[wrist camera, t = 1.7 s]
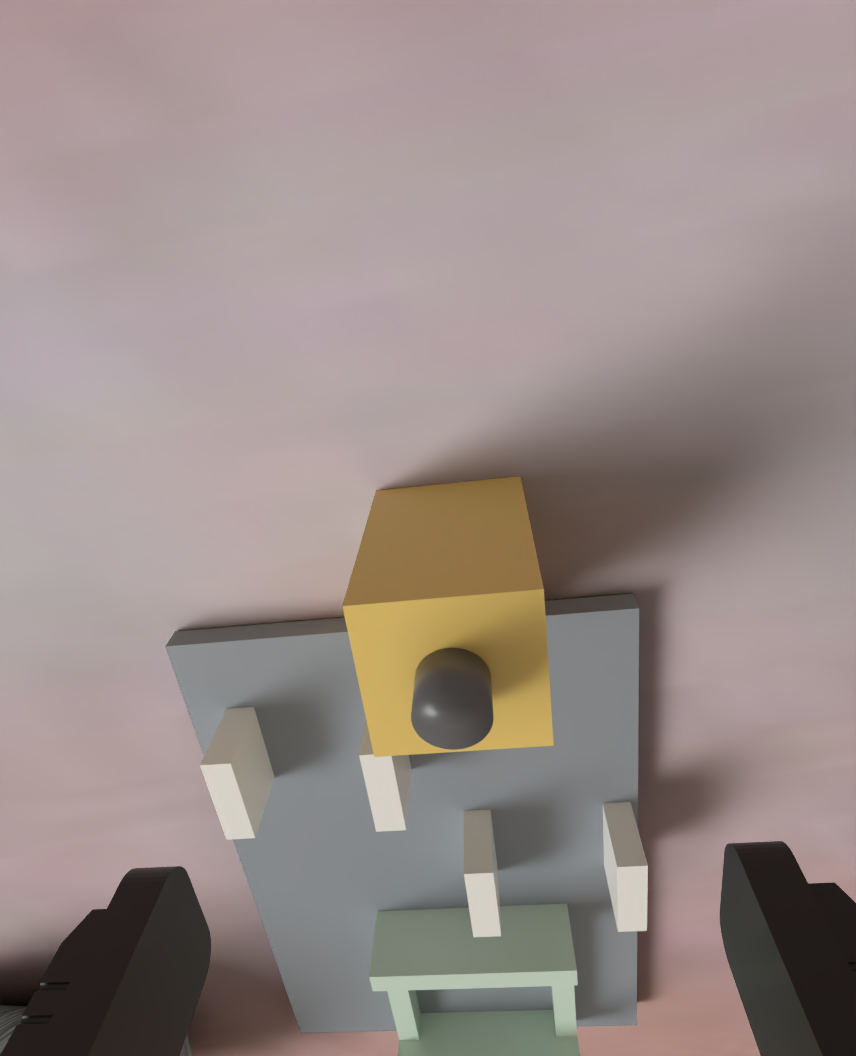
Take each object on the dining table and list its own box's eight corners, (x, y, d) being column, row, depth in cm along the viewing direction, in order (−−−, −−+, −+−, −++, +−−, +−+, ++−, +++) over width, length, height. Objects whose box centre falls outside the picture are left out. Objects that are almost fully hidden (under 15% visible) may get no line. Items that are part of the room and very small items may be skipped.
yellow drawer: (375, 490, 19) (331, 640, 13) (520, 475, 19) (550, 623, 12) (396, 611, 21) (367, 799, 14) (529, 600, 21) (560, 787, 14)
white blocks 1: (226, 708, 22) (200, 765, 20) (398, 696, 21) (390, 753, 19) (248, 779, 23) (226, 839, 21) (411, 769, 22) (405, 830, 20)
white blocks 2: (463, 810, 23) (463, 874, 21) (630, 801, 23) (647, 865, 21) (472, 871, 24) (473, 937, 22) (630, 864, 24) (646, 930, 22)
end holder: (376, 911, 26) (368, 977, 23) (567, 903, 25) (576, 970, 23) (404, 1025, 29) (399, 1092, 27) (573, 1020, 28) (583, 1089, 26)
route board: (175, 631, 22) (165, 646, 21) (633, 593, 20) (639, 608, 19) (304, 1013, 30) (300, 1033, 29) (632, 1004, 29) (636, 1025, 28)
